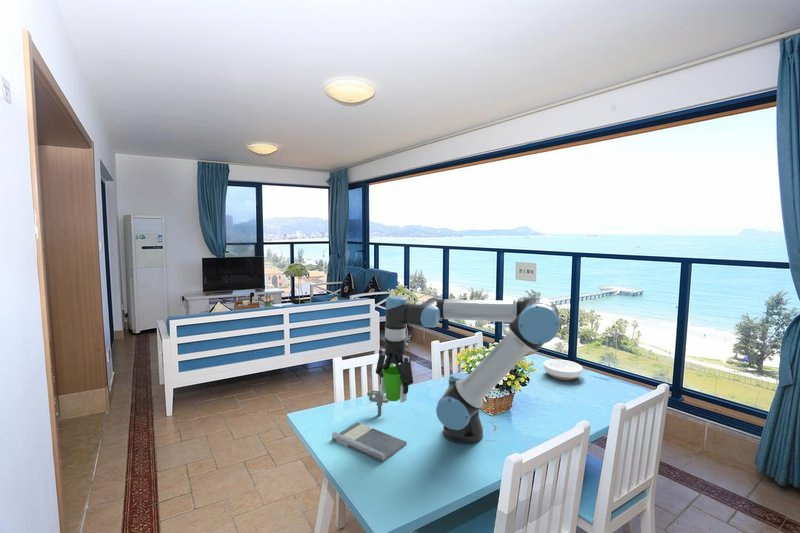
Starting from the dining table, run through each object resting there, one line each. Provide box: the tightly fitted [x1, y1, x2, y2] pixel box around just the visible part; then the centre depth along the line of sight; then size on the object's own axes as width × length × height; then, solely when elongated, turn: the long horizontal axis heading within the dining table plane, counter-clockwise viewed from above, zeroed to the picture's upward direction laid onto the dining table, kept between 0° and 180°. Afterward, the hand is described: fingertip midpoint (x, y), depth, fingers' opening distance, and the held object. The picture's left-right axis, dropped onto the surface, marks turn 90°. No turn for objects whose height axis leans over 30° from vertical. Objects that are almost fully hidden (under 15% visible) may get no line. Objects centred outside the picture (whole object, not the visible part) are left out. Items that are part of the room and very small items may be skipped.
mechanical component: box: [366, 389, 390, 417], centre depth 164 cm, size 3×10×10 cm, turn 78°
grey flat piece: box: [331, 421, 407, 464], centre depth 144 cm, size 24×14×2 cm, turn 54°
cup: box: [382, 365, 402, 402], centre depth 145 cm, size 9×9×11 cm
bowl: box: [543, 358, 584, 381], centre depth 209 cm, size 20×20×6 cm
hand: (393, 397), depth 145 cm, fingers closed on cup, 9 cm apart
